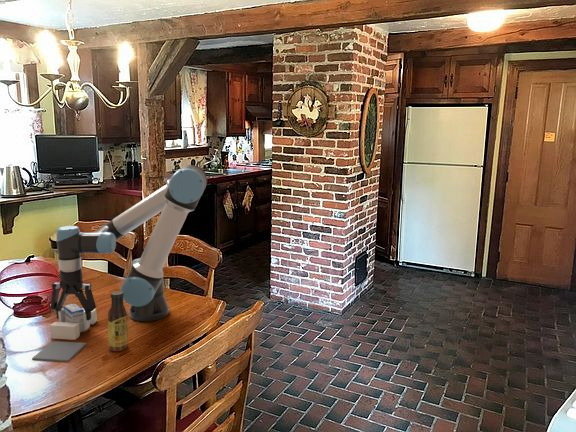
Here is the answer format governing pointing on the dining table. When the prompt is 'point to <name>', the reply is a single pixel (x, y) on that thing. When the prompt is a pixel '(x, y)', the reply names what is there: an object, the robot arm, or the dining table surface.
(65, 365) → the dining table surface
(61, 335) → the slot stand
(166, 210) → the robot arm
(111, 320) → the sauce bottle
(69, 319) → the medicine box
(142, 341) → the dining table surface
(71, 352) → the rubber mat
